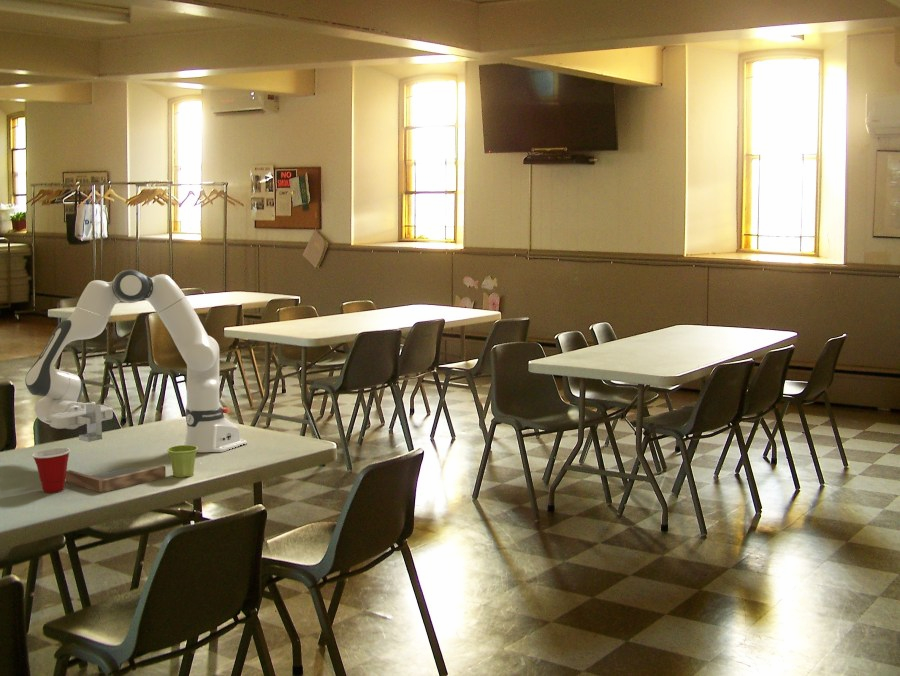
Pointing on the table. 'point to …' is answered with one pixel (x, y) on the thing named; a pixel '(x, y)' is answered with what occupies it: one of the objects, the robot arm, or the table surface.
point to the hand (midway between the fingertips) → (95, 420)
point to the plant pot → (182, 459)
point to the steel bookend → (96, 427)
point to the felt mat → (115, 473)
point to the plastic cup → (52, 468)
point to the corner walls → (115, 479)
